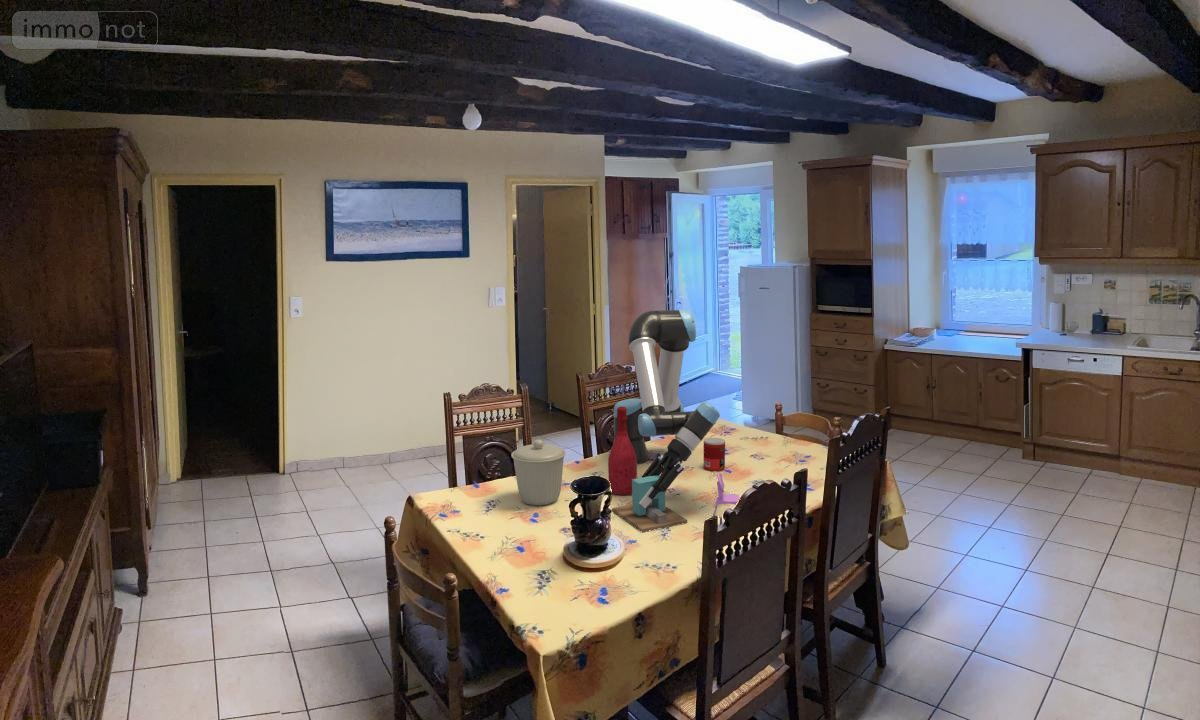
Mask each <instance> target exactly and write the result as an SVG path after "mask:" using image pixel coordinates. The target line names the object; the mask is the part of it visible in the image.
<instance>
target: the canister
mask: <svg viewBox="0 0 1200 720" xmlns="http://www.w3.org/2000/svg"><path fill="white" fill-rule="evenodd" d="M566 453H567V451H566V450H564V449H563V448H561V447H560V446H558V445H554V444H551V443H544V441H543V440H542V439H535V440H534V441H533V442H532V444H527V445H523V446H520V447H519V448H517V449H515V450H514V451H513V452H512V453H510V454H511V458H512V459H513V465H514V471H515V477H516V478H515V479H516V485H517V490H518V491H517V492H518V495H519V498H520V500H521V502H523V503H525V504H526V505H530V506H545V505H549V504H553V503H555V502H556V501H557V500H558V499H559V498H560V495H561V491H562V482H563V481H562V480H563V471H564V468H563V467H564V457H565V456H566Z"/></svg>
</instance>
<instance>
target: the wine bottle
mask: <svg viewBox="0 0 1200 720" xmlns="http://www.w3.org/2000/svg"><path fill="white" fill-rule="evenodd" d="M617 420H618V431H617V436H616V439H615V441H614V440H613V442H614V443H612V446H611V448H610V452H609V454H608V455H609V456H608V462H607V463H608V464H607V466H608V467H607V468H608V470H607V471H608V472H607V473H608V482H609V481H610V483H611V489H612V492H611V493H612V494H613V495H618V496H624V495H625V496H626V495H632V479H637V478H638V474H637V473H638V464H637V459H636V454H635V451H634V448H633V446H632V444H631V442H630V439H629V437H628V433H627V429H626V420H627V408H626V407H618V409H617Z"/></svg>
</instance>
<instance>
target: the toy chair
mask: <svg viewBox="0 0 1200 720" xmlns="http://www.w3.org/2000/svg"><path fill="white" fill-rule="evenodd" d="M716 476H717V482H716V486H717V493H718V495H717V498H716V499H715V500H716V501H715V506H714V512H713V513H712V517H713V516H714V515H715V516H716V515H717V510H718V506H719V505H727V504H728V505H736V503H737V502H738V500H739V498H740V494H734V493H733V494H727V493H725V482H724V480H723V475H722V473H721V472H718V473H717V474H716ZM736 506H737V505H736Z"/></svg>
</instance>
